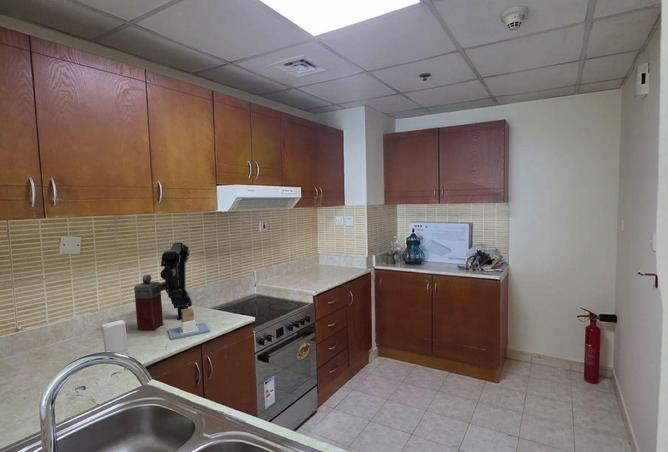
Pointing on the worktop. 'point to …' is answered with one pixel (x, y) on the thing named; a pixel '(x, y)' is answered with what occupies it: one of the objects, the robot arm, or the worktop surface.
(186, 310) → the walnut block
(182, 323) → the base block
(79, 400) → the worktop surface
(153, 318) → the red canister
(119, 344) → the skincare box
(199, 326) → the board
